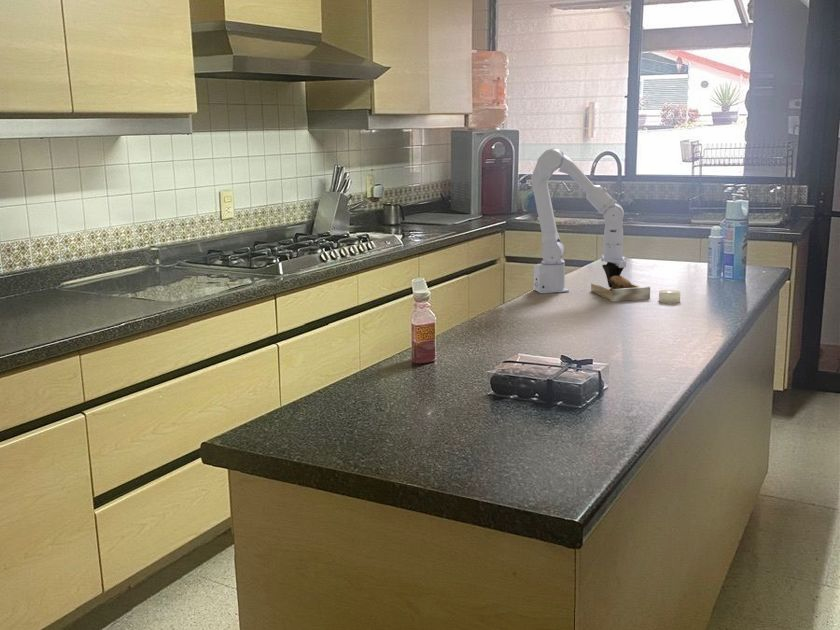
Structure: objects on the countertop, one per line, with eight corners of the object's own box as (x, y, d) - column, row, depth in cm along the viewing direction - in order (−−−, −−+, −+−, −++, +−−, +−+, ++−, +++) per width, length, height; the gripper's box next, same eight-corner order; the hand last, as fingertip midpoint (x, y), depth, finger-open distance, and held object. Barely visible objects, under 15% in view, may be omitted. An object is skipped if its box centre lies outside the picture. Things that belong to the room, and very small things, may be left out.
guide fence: (613, 301, 251) (613, 289, 250) (591, 291, 267) (591, 280, 267) (649, 298, 253) (650, 287, 252) (625, 288, 269) (626, 277, 269)
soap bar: (664, 304, 246) (664, 294, 245) (655, 300, 251) (655, 290, 251) (683, 302, 247) (684, 292, 246) (674, 298, 252) (674, 288, 252)
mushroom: (600, 285, 258) (612, 268, 258) (605, 291, 265) (616, 274, 265) (622, 300, 255) (634, 282, 254) (626, 305, 262) (638, 288, 262)
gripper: (635, 246, 256) (635, 290, 259) (615, 240, 270) (615, 282, 273) (613, 247, 255) (613, 292, 258) (594, 241, 269) (594, 283, 271)
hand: (612, 287), depth 265 cm, fingers closed
